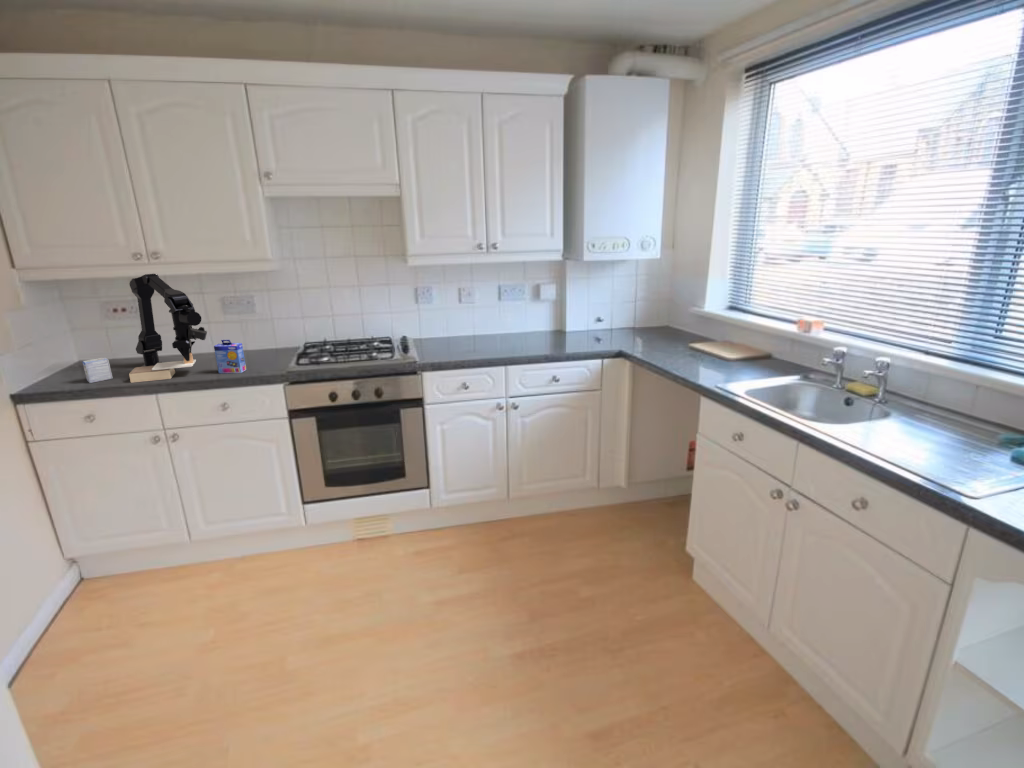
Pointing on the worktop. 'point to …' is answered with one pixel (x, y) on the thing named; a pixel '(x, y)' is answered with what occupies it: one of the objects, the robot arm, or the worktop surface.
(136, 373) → the carton
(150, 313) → the robot arm
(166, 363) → the lid
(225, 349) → the ink cartridge box
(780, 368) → the worktop surface
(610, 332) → the worktop surface
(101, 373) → the medicine box
